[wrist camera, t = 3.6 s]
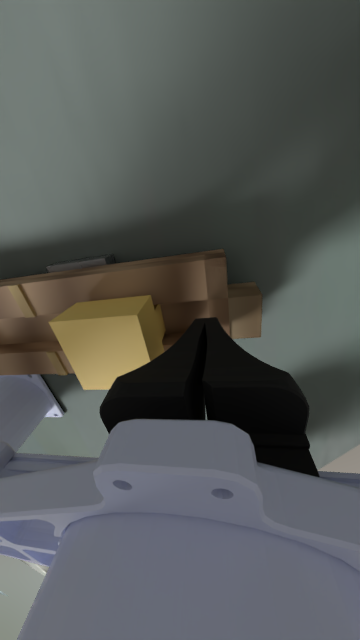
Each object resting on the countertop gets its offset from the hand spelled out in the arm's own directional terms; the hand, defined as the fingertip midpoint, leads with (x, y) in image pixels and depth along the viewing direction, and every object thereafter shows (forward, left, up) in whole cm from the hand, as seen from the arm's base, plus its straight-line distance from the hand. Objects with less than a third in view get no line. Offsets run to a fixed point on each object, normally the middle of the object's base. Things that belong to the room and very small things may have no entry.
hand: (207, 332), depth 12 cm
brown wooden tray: (-9, 0, -4) cm, 9 cm away
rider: (-6, 0, -3) cm, 6 cm away
